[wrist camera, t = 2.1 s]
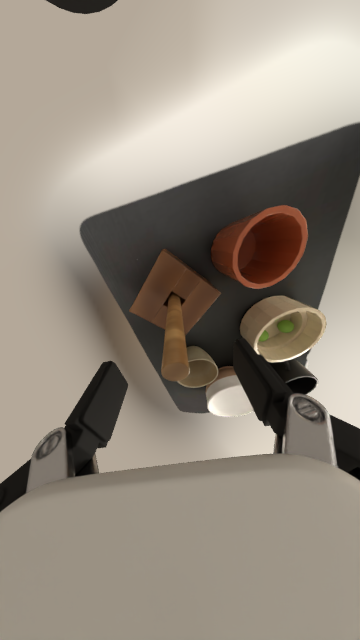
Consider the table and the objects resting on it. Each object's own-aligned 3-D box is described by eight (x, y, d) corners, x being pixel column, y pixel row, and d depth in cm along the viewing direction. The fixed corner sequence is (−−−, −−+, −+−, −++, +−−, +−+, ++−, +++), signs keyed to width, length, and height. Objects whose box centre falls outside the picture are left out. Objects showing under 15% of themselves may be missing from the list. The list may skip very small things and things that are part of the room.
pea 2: (271, 324, 31) (280, 331, 28) (282, 315, 30) (293, 322, 27) (278, 330, 32) (288, 337, 29) (289, 321, 31) (300, 328, 28)
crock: (201, 257, 23) (218, 263, 15) (234, 209, 20) (279, 182, 12) (232, 282, 26) (261, 299, 17) (265, 243, 23) (321, 242, 14)
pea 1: (248, 333, 32) (255, 340, 29) (258, 324, 31) (266, 331, 28) (256, 338, 33) (263, 346, 30) (266, 330, 32) (274, 337, 29)
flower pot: (183, 368, 39) (185, 392, 32) (168, 346, 34) (167, 368, 28) (214, 358, 37) (223, 380, 31) (204, 333, 32) (211, 353, 26)
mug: (287, 336, 34) (321, 363, 26) (288, 363, 40) (317, 392, 32) (251, 349, 36) (273, 377, 28) (258, 373, 41) (278, 403, 33)
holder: (139, 296, 27) (129, 311, 21) (165, 248, 23) (162, 249, 16) (180, 320, 30) (182, 338, 24) (210, 282, 26) (221, 293, 20)
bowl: (207, 395, 46) (213, 421, 40) (196, 367, 39) (201, 394, 32) (251, 385, 44) (266, 410, 38) (249, 354, 37) (267, 379, 30)
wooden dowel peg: (167, 290, 26) (154, 375, 9) (172, 282, 26) (169, 357, 8) (175, 296, 27) (180, 384, 10) (181, 288, 26) (196, 369, 9)
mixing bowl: (227, 327, 32) (240, 346, 26) (273, 282, 26) (302, 292, 20) (260, 349, 36) (278, 369, 30) (306, 313, 31) (338, 330, 25)
